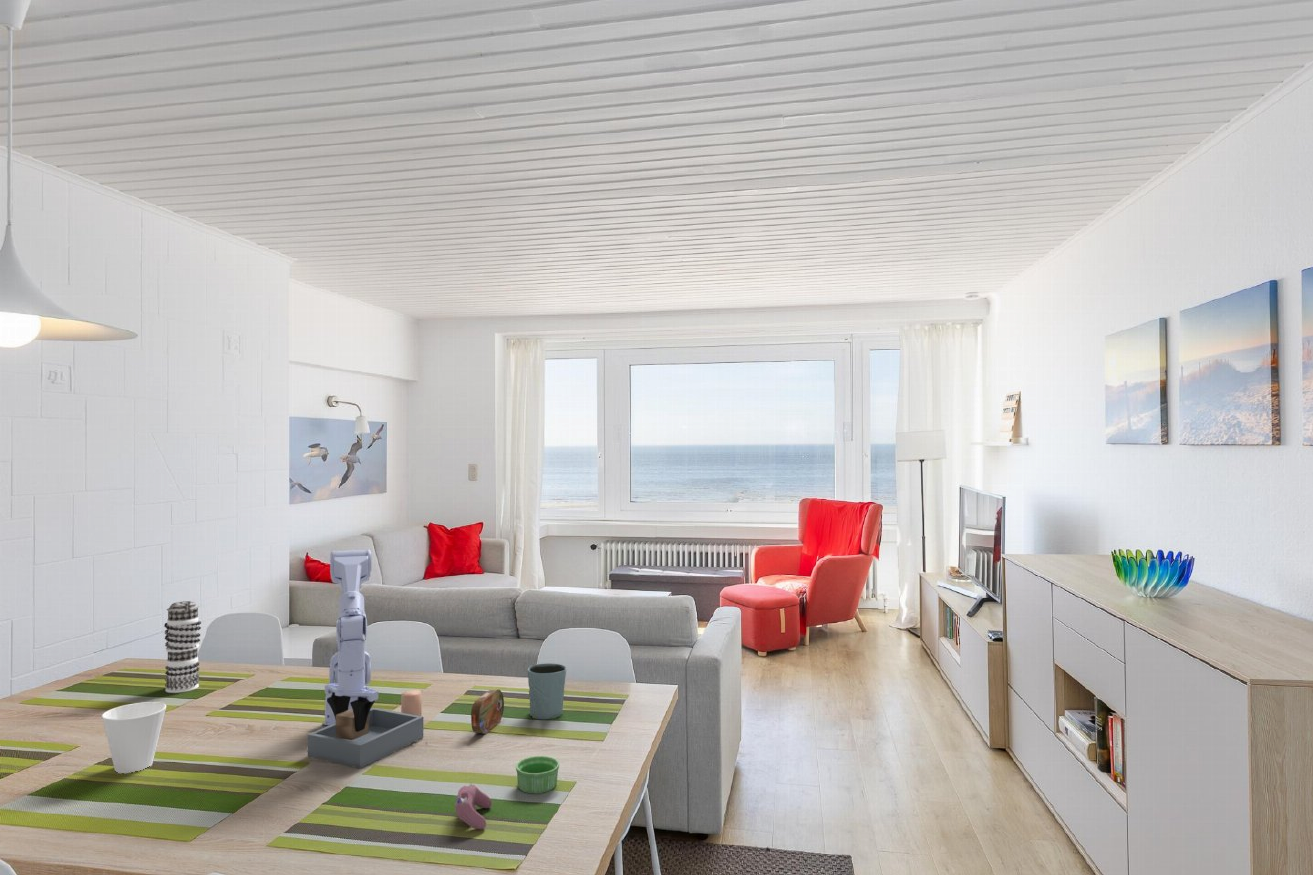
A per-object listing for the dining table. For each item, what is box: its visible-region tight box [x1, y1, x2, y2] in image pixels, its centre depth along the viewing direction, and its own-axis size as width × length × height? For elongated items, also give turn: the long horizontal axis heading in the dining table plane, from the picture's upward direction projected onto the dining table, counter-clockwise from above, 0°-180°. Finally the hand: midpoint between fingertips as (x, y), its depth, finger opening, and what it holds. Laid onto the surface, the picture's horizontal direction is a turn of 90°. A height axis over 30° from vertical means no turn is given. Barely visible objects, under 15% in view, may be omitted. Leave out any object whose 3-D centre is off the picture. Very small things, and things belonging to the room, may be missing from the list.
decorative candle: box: [163, 600, 202, 694], centre depth 225 cm, size 9×9×25 cm
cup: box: [101, 701, 167, 774], centre depth 169 cm, size 12×12×12 cm
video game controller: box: [454, 782, 493, 831], centre depth 145 cm, size 10×5×7 cm, turn 5°
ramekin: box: [515, 755, 560, 794], centre depth 159 cm, size 9×9×4 cm
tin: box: [470, 689, 505, 735], centre depth 193 cm, size 15×3×8 cm, turn 168°
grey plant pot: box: [527, 662, 567, 720], centre depth 203 cm, size 10×10×12 cm
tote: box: [307, 707, 424, 769], centre depth 180 cm, size 16×20×5 cm
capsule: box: [400, 689, 423, 717], centre depth 198 cm, size 5×5×7 cm
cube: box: [336, 709, 369, 740], centre depth 176 cm, size 5×5×5 cm
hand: (350, 728), depth 176 cm, fingers closed on cube, 5 cm apart
